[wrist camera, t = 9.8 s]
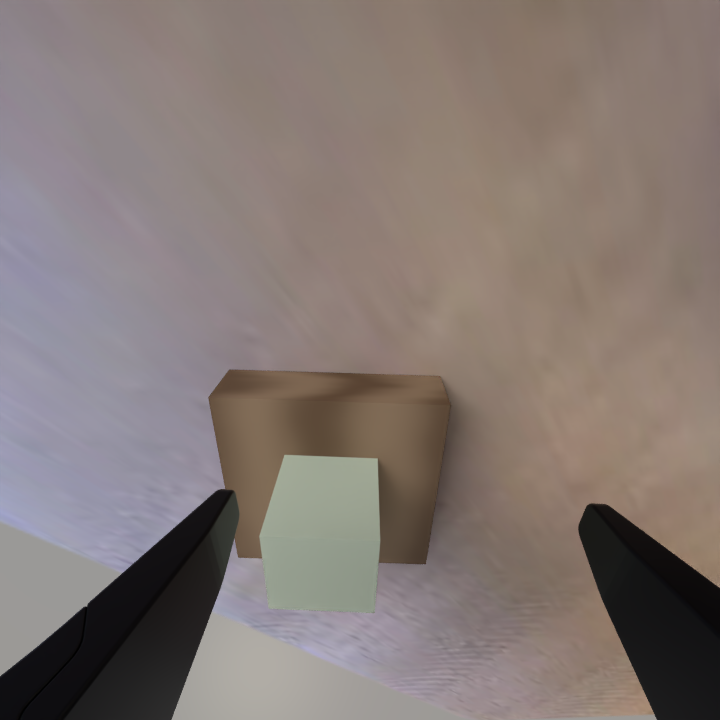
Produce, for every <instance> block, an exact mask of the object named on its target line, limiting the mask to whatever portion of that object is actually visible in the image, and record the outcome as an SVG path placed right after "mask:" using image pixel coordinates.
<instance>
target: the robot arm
mask: <svg viewBox="0 0 720 720" xmlns="http://www.w3.org/2000/svg"><path fill="white" fill-rule="evenodd" d="M239 515H240V514H239V507H238V502H237V497H236V493H235V491H234V490H227V489H220V490H217V491H216V492H215V493H213V494H212V495H211V496H210V497H209V498H208V499H207V500H205V501H204V502H203V503H202V504H201V505H200V506H199V507H197V508H196V509H195V510H194V511H193V512H192V513H191V514H189V515H188V516H187V517H186V518H185V519H184V520H183V521H181V522H180V523H179V524H178V525H177V526H176V527H175V528H173V529H172V530H171V531H170V532H169V533H168V534H167V535H165V536H164V537H163V538H162V539H161V540H160V541H159V542H158V543H156V544H155V545H154V546H153V547H152V548H151V549H150V550H148V551H147V552H146V553H145V554H144V555H143V556H142V557H140V558H139V559H138V560H137V561H136V562H135V563H134V564H132V565H131V566H130V567H129V568H128V569H127V570H126V571H124V572H123V573H122V574H121V575H120V576H119V577H118V578H117V579H115V580H114V581H113V582H112V583H111V584H110V585H109V586H107V587H106V588H105V589H104V590H103V591H102V592H100V593H99V594H98V595H97V596H96V597H95V598H94V599H92V600H91V601H90V602H89V603H88V605H87V607H83V608H82V609H81V610H80V611H79V612H77V613H76V614H75V615H74V616H73V617H72V618H71V619H69V620H68V621H67V622H66V623H65V624H64V625H63V626H61V627H60V628H59V629H58V630H57V631H55V632H54V633H53V634H52V635H51V636H49V637H48V638H47V639H46V640H45V641H44V642H42V643H41V644H40V645H39V646H38V647H36V648H35V649H34V650H33V651H31V652H30V653H29V654H28V655H27V656H25V657H24V658H23V659H21V660H20V661H19V662H18V663H16V664H15V665H14V666H13V667H12V668H10V669H9V670H8V671H6V672H5V673H4V674H2V675H1V676H0V720H171V719H172V717H173V714H174V711H175V709H176V706H177V703H178V700H179V698H180V695H181V692H182V690H183V687H184V684H185V682H186V679H187V676H188V673H189V671H190V668H191V666H192V663H193V660H194V658H195V655H196V652H197V650H198V647H199V644H200V642H201V639H202V636H203V634H204V631H205V628H206V626H207V623H208V620H209V617H210V614H211V612H212V609H213V607H214V604H215V601H216V599H217V596H218V593H219V591H220V588H221V585H222V582H223V579H224V575H225V572H226V568H227V564H228V560H229V556H230V552H231V549H232V545H233V541H234V537H235V533H236V530H237V526H238V522H239ZM578 530H579V536H580V539H581V541H582V544H583V547H584V550H585V553H586V556H587V559H588V561H589V564H590V567H591V570H592V573H593V576H594V579H595V582H596V584H597V587H598V590H599V593H600V595H601V598H602V600H603V603H604V605H605V607H606V609H607V612H608V614H609V616H610V618H611V620H612V623H613V625H614V627H615V629H616V631H617V634H618V636H619V638H620V640H621V642H622V644H623V647H624V649H625V651H626V653H627V655H628V658H629V660H630V662H631V664H632V666H633V668H634V671H635V673H636V675H637V677H638V679H639V682H640V684H641V686H642V688H643V690H644V692H645V695H646V697H647V699H648V701H649V703H650V706H651V708H652V710H653V712H654V714H655V716H656V719H657V720H720V588H719V587H718V586H716V585H715V584H714V583H712V582H711V581H710V580H708V579H707V578H706V577H704V576H703V575H701V574H700V573H699V572H697V571H696V570H695V569H693V568H692V567H691V566H689V565H688V564H687V563H685V562H684V561H683V560H681V559H680V558H679V557H677V556H676V555H675V554H673V553H672V552H670V551H669V550H668V549H666V548H665V547H664V546H662V545H661V544H660V543H658V542H657V541H656V540H654V539H653V538H652V537H650V536H649V535H648V534H646V533H645V532H644V531H642V530H641V529H639V528H638V527H637V526H635V525H634V524H633V523H631V522H630V521H629V520H627V519H626V518H625V517H623V516H622V515H621V514H619V513H618V512H617V511H615V510H614V509H613V508H611V507H610V506H608V505H606V504H592V503H591V504H589V505H587V506H586V509H585V511H584V513H583V516H582V518H581V521H580V523H579V528H578Z"/></svg>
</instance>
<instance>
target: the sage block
mask: <svg viewBox="0 0 720 720" xmlns="http://www.w3.org/2000/svg"><path fill="white" fill-rule="evenodd" d="M259 538H260V545H261V553H262V560H263V568H264V575H265V583H266V590H267V598H268V605H269V609H290V610H314V611H338V612H362V613H375V600H376V588H377V575H378V563H379V551H380V517H379V485H378V458H352V457H326V456H301V455H284V458H283V461H282V465H281V468H280V471H279V474H278V478H277V481H276V484H275V487H274V490H273V494H272V497H271V500H270V503H269V507H268V510H267V513H266V516H265V520H264V523H263V526H262V529H261V532H260V536H259Z"/></svg>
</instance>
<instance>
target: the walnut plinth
mask: <svg viewBox="0 0 720 720" xmlns="http://www.w3.org/2000/svg"><path fill="white" fill-rule="evenodd" d="M208 398H209V404H210V409H211V414H212V420H213V425H214V430H215V436H216V441H217V447H218V452H219V457H220V463H221V468H222V473H223V479H224V484H225V489H227V490H234V491H235V493H236V497H237V502H238V507H239V514H240V515H239V522H238V526H237V530H236V533H235V537H234V538H235V543H236V548H237V554H238V557H239V558H262V553H261V545H260V538H259V536H260V532H261V529H262V526H263V523H264V520H265V516H266V513H267V510H268V507H269V503H270V500H271V497H272V494H273V490H274V487H275V484H276V481H277V478H278V474H279V471H280V468H281V465H282V461H283V458H284V455H301V456H326V457H352V458H378V485H379V517H380V551H379V563H405V564H426V560H427V553H428V547H429V541H430V534H431V528H432V522H433V515H434V509H435V503H436V496H437V490H438V484H439V477H440V471H441V465H442V458H443V452H444V446H445V439H446V433H447V426H448V420H449V414H450V407H451V404H450V402H449V399H448V396H447V394H446V391H445V388H444V385H443V383H442V380H441V377H440V376H416V375H384V374H351V373H319V372H287V371H255V370H229V371H228V372H227V373H226V375H225V376H224V377H223V379H222V380H221V381H220V383H219V384H218V385H217V387H216V388H215V389H214V391H213V392H212V393H211V395H210V396H209V397H208Z"/></svg>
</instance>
